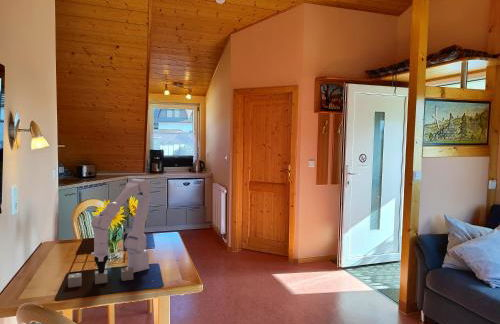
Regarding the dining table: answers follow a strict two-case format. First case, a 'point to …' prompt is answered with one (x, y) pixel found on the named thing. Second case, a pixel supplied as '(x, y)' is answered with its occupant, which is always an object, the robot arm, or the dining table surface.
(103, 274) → the plain block
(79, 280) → the dotted block
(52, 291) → the dining table surface
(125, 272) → the barred block
